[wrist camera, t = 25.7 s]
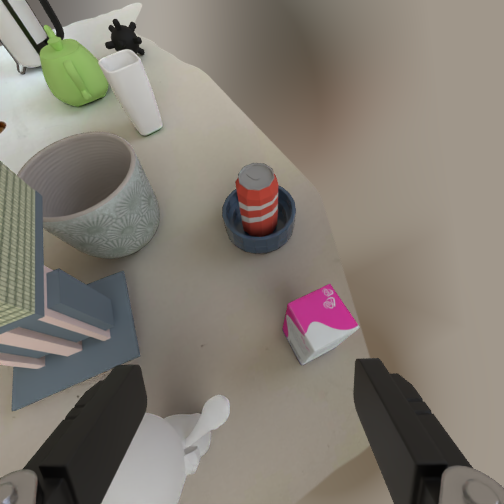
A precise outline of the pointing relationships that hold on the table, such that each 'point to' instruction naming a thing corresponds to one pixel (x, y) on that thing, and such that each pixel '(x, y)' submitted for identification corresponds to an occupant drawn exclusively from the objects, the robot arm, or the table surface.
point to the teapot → (71, 71)
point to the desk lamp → (53, 307)
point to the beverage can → (258, 199)
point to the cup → (132, 89)
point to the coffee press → (25, 31)
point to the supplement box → (317, 324)
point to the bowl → (254, 243)
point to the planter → (94, 194)
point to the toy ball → (124, 38)
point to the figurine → (165, 455)
